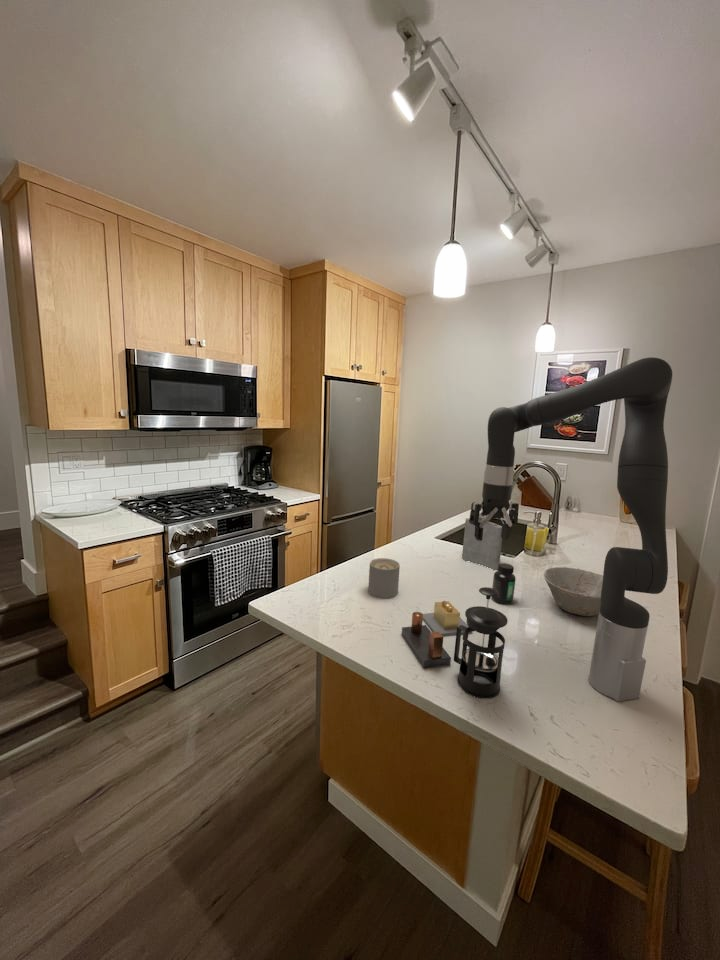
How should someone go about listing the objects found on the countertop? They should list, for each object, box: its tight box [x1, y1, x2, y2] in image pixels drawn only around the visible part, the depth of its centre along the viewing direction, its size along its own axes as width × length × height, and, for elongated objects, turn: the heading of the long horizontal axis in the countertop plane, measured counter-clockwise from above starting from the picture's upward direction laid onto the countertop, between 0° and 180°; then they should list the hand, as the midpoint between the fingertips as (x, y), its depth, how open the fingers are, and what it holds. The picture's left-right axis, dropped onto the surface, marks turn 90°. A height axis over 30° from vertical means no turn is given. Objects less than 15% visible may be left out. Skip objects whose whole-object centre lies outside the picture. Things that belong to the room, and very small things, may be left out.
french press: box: [453, 586, 508, 699], centre depth 91 cm, size 12×9×23 cm
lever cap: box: [433, 600, 461, 629], centre depth 117 cm, size 7×4×6 cm, turn 15°
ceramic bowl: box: [543, 566, 603, 617], centre depth 130 cm, size 22×23×10 cm
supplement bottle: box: [490, 562, 517, 605], centre depth 134 cm, size 7×7×12 cm
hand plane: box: [401, 611, 452, 669], centre depth 105 cm, size 15×7×8 cm, turn 15°
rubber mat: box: [422, 612, 474, 637], centre depth 118 cm, size 11×11×1 cm
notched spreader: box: [461, 515, 503, 571], centre depth 164 cm, size 16×4×20 cm, turn 47°
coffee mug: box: [367, 557, 401, 600], centre depth 137 cm, size 13×10×10 cm
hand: (491, 539), depth 113 cm, fingers open, 8 cm apart
